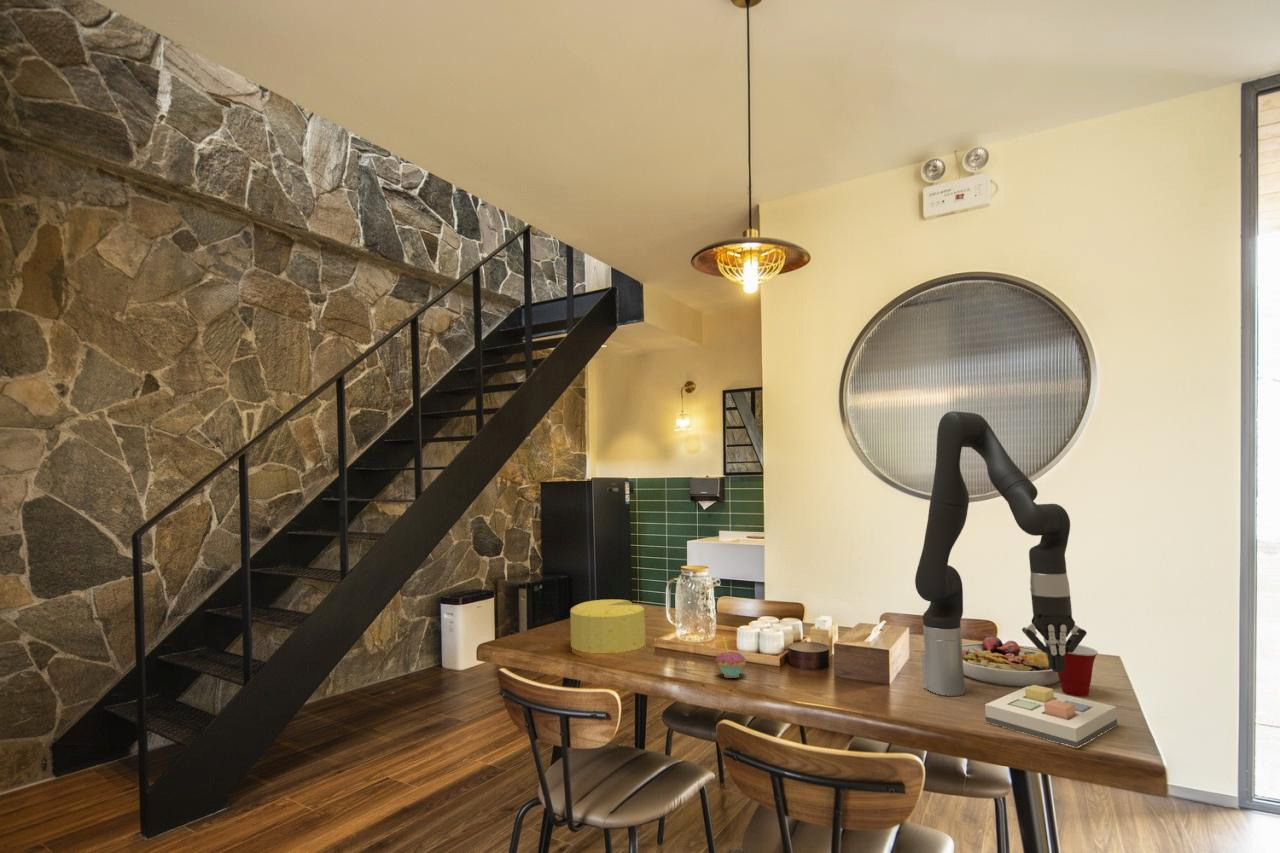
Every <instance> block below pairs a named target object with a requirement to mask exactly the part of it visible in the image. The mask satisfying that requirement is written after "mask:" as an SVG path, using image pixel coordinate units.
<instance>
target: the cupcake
mask: <svg viewBox="0 0 1280 853" xmlns="http://www.w3.org/2000/svg"><path fill="white" fill-rule="evenodd" d="M722 636H723V639H722V640H723V646H724V649H725V650H724V651H723V652H722V653H720V654H719V655H717V657H716V658H715V662H716V665H718V667H720V670H721V674H722V673H723V674H725V675H730V676H736V675H739V674H740V675H741V671H742V668H743V667H745V666H746V663H747V661H746V658H745V657H744V656H743V654H741V653H740V652H737V651H729V648H728V645H727V640H726V637H725V635H724V634H722ZM723 674H722V675H723Z"/></svg>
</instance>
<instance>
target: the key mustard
mask: <svg viewBox="0 0 1280 853" xmlns="http://www.w3.org/2000/svg"><path fill="white" fill-rule="evenodd" d="M1024 688H1025V687H1024ZM1054 692H1055V691H1054V688H1051V687H1045V686H1037V685H1032V686H1030V687H1027V688H1025V693H1026V698H1027V699H1031V700H1035V701H1039V702H1043V703H1047V702H1049V701H1051V700H1053V699H1054Z"/></svg>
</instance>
